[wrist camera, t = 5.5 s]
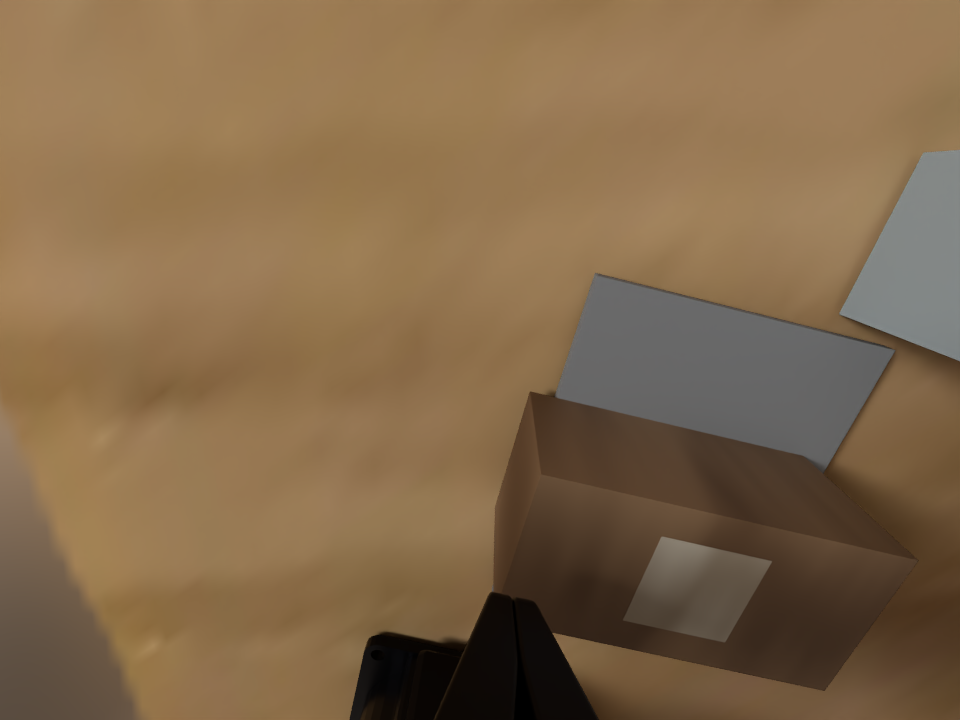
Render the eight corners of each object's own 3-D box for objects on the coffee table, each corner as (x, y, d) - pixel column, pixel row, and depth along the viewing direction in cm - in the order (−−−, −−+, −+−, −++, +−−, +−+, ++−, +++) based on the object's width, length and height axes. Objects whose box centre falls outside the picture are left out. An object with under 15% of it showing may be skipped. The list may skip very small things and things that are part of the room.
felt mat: (716, 637, 17) (720, 647, 16) (492, 587, 16) (491, 597, 16) (883, 345, 13) (895, 350, 12) (595, 272, 12) (598, 275, 12)
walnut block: (495, 507, 15) (743, 563, 15) (492, 620, 11) (825, 691, 11) (529, 391, 13) (803, 455, 14) (541, 474, 9) (919, 560, 10)
